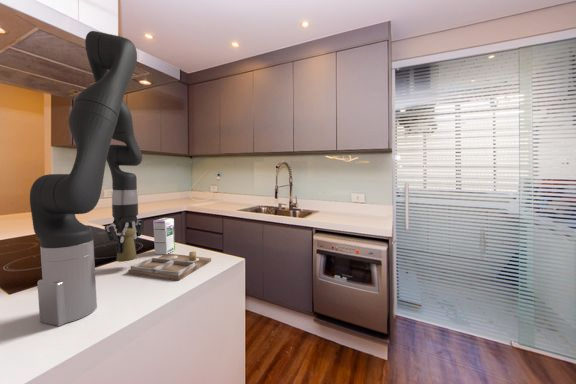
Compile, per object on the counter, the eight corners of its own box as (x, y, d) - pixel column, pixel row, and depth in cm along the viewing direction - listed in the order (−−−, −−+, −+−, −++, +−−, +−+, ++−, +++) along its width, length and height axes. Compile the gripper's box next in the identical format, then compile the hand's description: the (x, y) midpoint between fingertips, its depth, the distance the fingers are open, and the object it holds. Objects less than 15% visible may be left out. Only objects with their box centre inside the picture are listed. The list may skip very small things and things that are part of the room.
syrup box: (166, 254, 100) (165, 220, 99) (154, 254, 101) (152, 219, 100) (175, 250, 106) (174, 218, 105) (163, 250, 107) (162, 217, 106)
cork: (133, 255, 89) (132, 225, 89) (139, 258, 86) (139, 227, 85) (113, 259, 85) (112, 228, 84) (119, 262, 81) (119, 230, 80)
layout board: (178, 280, 76) (178, 267, 76) (128, 273, 81) (127, 261, 81) (211, 261, 93) (210, 250, 93) (167, 256, 98) (167, 246, 98)
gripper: (114, 205, 76) (116, 258, 77) (150, 201, 90) (151, 246, 91) (96, 204, 78) (97, 256, 79) (134, 200, 92) (135, 245, 93)
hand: (126, 251), depth 85 cm, fingers closed on cork, 4 cm apart
